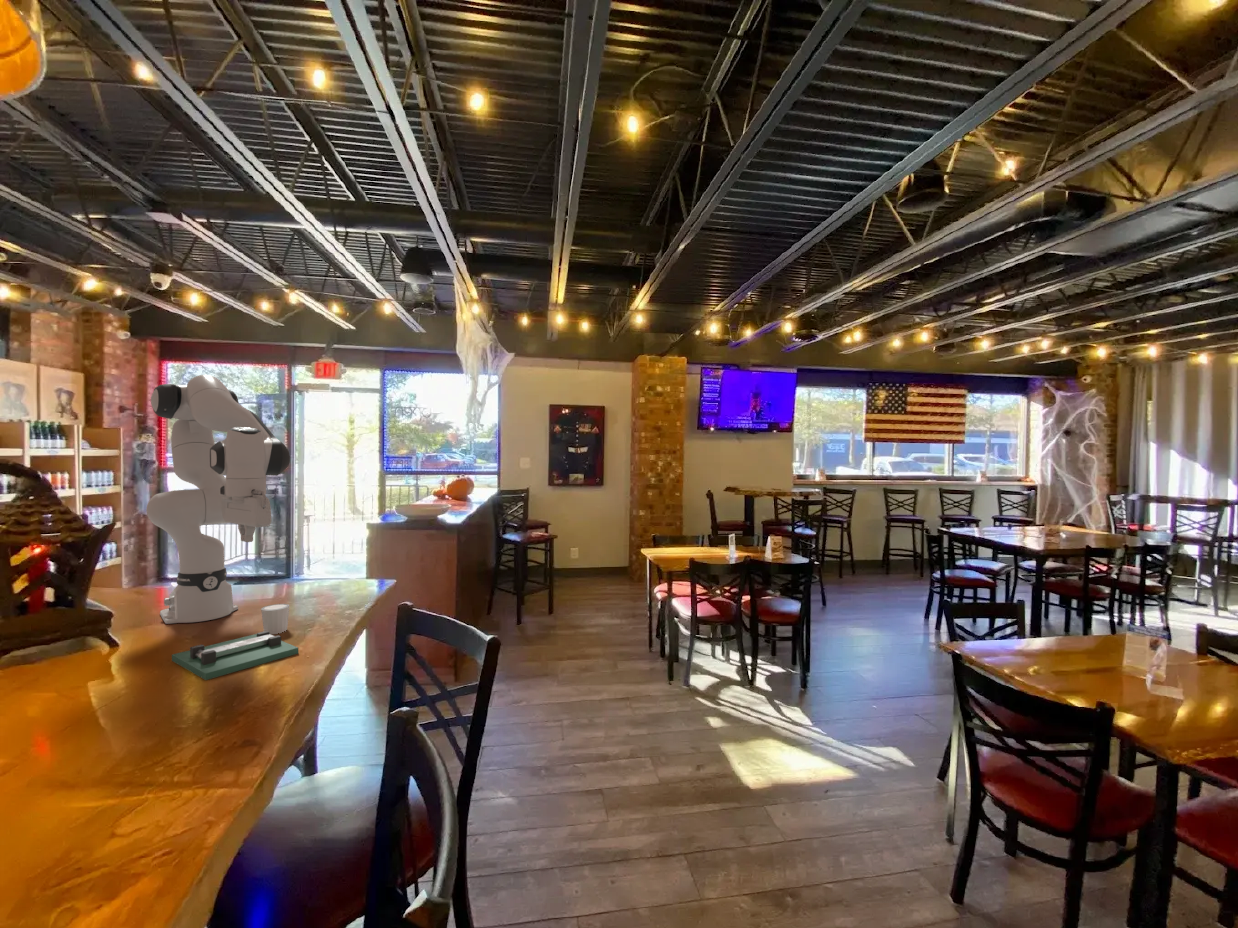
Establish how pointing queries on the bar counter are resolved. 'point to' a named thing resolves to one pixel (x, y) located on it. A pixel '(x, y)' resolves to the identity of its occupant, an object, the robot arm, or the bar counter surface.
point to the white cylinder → (275, 618)
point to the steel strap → (237, 646)
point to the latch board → (233, 657)
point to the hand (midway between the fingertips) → (247, 541)
